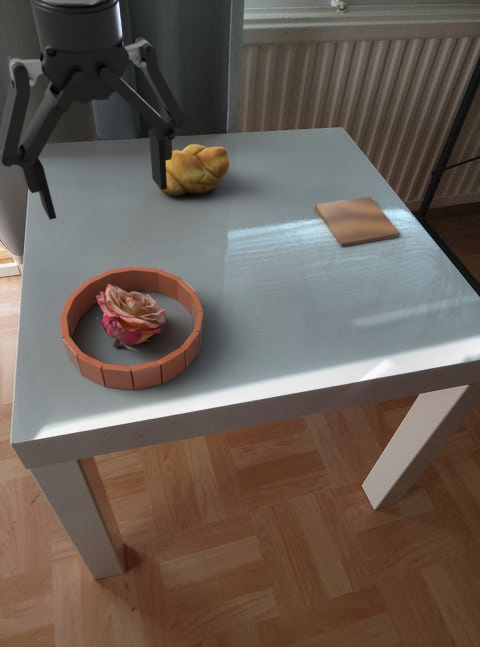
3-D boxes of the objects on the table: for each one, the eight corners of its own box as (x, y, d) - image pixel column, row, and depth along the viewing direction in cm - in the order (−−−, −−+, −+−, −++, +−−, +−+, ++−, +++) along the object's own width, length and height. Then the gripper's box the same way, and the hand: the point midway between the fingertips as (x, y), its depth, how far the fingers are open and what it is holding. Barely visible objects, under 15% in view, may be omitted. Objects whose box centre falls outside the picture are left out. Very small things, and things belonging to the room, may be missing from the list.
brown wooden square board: (398, 237, 86) (400, 233, 85) (341, 247, 83) (342, 243, 83) (368, 199, 93) (369, 196, 92) (314, 208, 90) (315, 204, 89)
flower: (124, 374, 62) (153, 322, 59) (67, 333, 63) (92, 280, 61) (159, 355, 71) (185, 308, 68) (108, 318, 72) (132, 272, 70)
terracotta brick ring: (228, 343, 68) (230, 324, 65) (112, 414, 60) (107, 396, 57) (153, 270, 77) (152, 250, 74) (42, 323, 68) (35, 303, 65)
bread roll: (166, 207, 87) (164, 166, 81) (147, 177, 93) (144, 137, 87) (233, 192, 92) (235, 152, 86) (211, 164, 97) (212, 125, 91)
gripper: (184, -32, 51) (187, 158, 67) (-91, -8, 41) (-11, 207, 57) (220, -9, 46) (214, 188, 62) (-76, 23, 37) (6, 245, 53)
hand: (107, 197), depth 60 cm, fingers open, 13 cm apart
